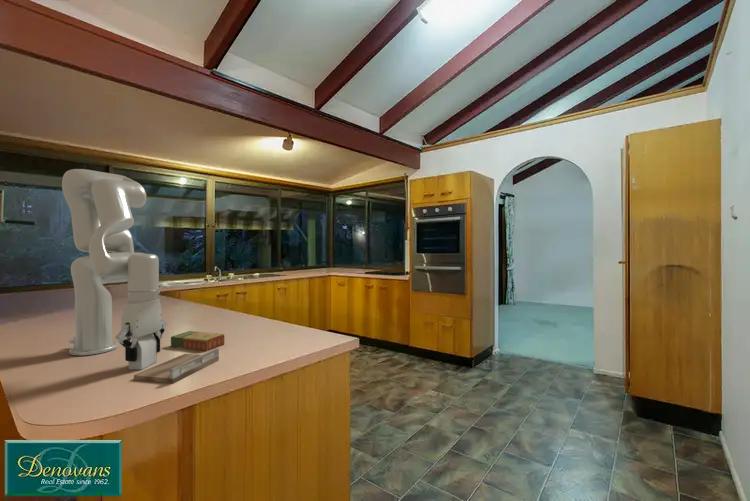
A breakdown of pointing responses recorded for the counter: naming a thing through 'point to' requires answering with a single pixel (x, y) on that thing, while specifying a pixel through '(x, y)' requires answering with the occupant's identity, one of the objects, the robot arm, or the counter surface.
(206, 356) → the shelf board
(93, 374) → the counter surface
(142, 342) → the tea bag
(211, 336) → the carton
